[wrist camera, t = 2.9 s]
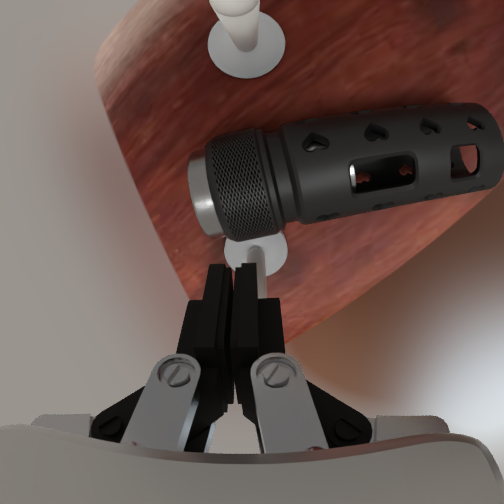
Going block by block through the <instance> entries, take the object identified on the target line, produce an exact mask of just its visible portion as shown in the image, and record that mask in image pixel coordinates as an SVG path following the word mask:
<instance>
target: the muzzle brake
mask: <svg viewBox="0 0 504 504" xmlns="http://www.w3.org/2000/svg"><path fill="white" fill-rule="evenodd" d="M467 122H468V123H470V124H472V125H474V126H476V127H478V128H475V129H471V128H470V127H469V126H468V124H467ZM468 145H475V146H476V148H477V158H478V159H477V168H476V170H475V171H474V172H472V173H469V171H468V170H467V168H466V167H465V165H464V162H463V160H462V157H461V153H460V149H459V146H468ZM402 165H403V166H405V167H406V168H408V169H410V170H411V171H412V174H409V173H407V174H406V175H405V176H403V175H401V174H400V173H399V169H400V168H401V166H402ZM503 170H504V142H503V138H502V135H501V132H500V129H499V127H498V125H497V123H496V121H495V119H494V118H493V116H492V115H491V114H490V113H489V111H488V110H487V109H485V108H484V107H483V106H481V105H479V104H477V103H444V104H426V105H412V106H400V107H390V108H380V109H372V110H364V111H358V112H349V113H342V114H336V115H329V116H323V117H318V118H312V119H306V120H301V121H296V122H291V123H286V124H282V125H281V126H280V127H279V129H278V131H276V132H271V133H265V132H264V131H263V130H262V129H257V130H256V129H255V128H248V129H244V130H240V131H236V132H232V133H228V134H224V135H220V136H217V137H214V138H212V139H211V140H210V141H209V142H208V143H207V145H206V148H205V149H201V150H198V151H194V152H192V153H191V154H190V156H189V159H188V168H187V172H188V184H189V190H190V195H191V199H192V203H193V207H194V210H195V213H196V216H197V218H198V221H199V223H200V225H201V227H202V229H203V230H204V232H205V233H206V235H207V236H208V237H209V238H211V239H217V238H221V237H226V236H227V238H228V239H230V240H232V241H235V242H242V241H247V240H252V239H256V238H261V237H266V236H271V235H275V234H278V233H279V232H280V230H284V229H285V226H286V223H289V222H293V221H299V222H300V223H302V224H305V225H307V224H312V223H317V222H322V221H326V220H331V219H336V218H341V217H346V216H351V215H356V214H361V213H366V212H371V211H376V210H381V209H386V208H392V207H397V206H402V205H407V204H412V203H417V202H423V201H428V200H433V199H438V198H444V197H449V196H454V195H460V194H465V193H471V192H476V191H482V190H487V189H492V188H493V187H495V186H496V185H497V184H498V182H499V181H500V179H501V177H502V174H503ZM359 172H361V173H362V174H364V175H366V176H367V177H369V179H370V181H369V182H366V181H363V182H362V183H356V180H355V177H356V176H357V174H358V173H359Z"/></svg>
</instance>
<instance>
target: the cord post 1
mask: <svg viewBox="0 0 504 504" xmlns="http://www.w3.org/2000/svg"><path fill="white" fill-rule="evenodd" d="M209 2H210V4H211V6H212V8H213V9H214V11H215V13H216V14H217V16H218V18H219V19H220V20H219V21H218V22H217V23H216V24H215V25H214V27H213V28H212V30H211V32H210V35H209V38H208V51H209V54H210V57H211V59H212V61H213V62H214V63H215V65H216V66H217V67H218V68H219V69H220V70H222V71H223V72H225V73H227V74H229V75H231V76H234V77H238V78H255V77H259V76H262V75H264V74H266V73H268V72H269V71H271V70H272V69H273V68H274V67H275V66H276V65H277V64H278V63H279V61H280V60H281V58H282V56H283V54H284V50H285V37H284V34H283V31H282V29H281V28H280V26H279V25H278V23H277V22H276V21H275V20H274V19H272V18H271V17H270V16H268V15H266V14H264V13H262V12H259V4H260V0H209Z"/></svg>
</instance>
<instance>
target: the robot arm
mask: <svg viewBox="0 0 504 504" xmlns="http://www.w3.org/2000/svg"><path fill="white" fill-rule="evenodd" d="M234 382H235V387H236V394H237V400H238V404H242V409H243V415H244V416H245V417H246V418H248V419H249V420H250V421H251V422H253V423H254V424H255V431H256V435H257V441H258V446H259V451H260V454H215V453H214V454H213V453H208V452H209V448H210V445H211V441H212V437H213V433H214V429H215V421H216V420H217V419H219V418H220V417H221V416H223V414H224V412H227V408H228V404H233V402H234ZM0 504H504V480H503V477H502V475H501V472H500V470H499V467H498V465H497V463H496V461H495V460H494V458H493V456H492V454H491V453H490V451H489V450H488V448H487V447H486V446H485V445H484V444H483V443H482V442H481V441H479V440H477V439H475V438H473V437H469V436H466V435H461V434H454V433H450V431H449V428H448V425H447V424H446V423H445V422H444V420H443V419H441V418H439V417H436V416H376V418H366V417H365V416H364V415H363V414H361V413H360V412H358V411H356V410H355V409H353V408H351V407H349V406H348V405H346V404H344V403H343V402H341V401H339V400H337V399H336V398H335V397H333V396H331V395H330V394H328V393H326V392H325V391H323V390H321V389H320V388H318V387H317V386H315V385H313V384H312V383H310V382H308V381H307V380H306V379H305V376H304V373H303V370H302V367H301V365H300V364H299V362H298V361H297V360H296V359H295V358H293V357H292V356H290V355H287V354H285V346H284V336H283V326H282V317H281V308H280V300H279V298H259V299H258V286H257V263H241V267H236V268H235V280H234V291H233V280H232V270H231V267H229V268H226V265H225V264H210V265H209V269H208V274H207V279H206V284H205V289H204V295H203V300H189V302H188V305H187V309H186V313H185V317H184V321H183V325H182V330H181V334H180V338H179V343H178V347H177V351H176V354H172V355H168V356H166V357H164V358H162V359H161V360H160V361H159V362H157V364H156V365H155V367H154V368H153V370H152V372H151V374H150V377H149V379H148V381H147V383H146V385H145V386H144V387H142V388H141V389H139V390H137V391H135V392H134V393H132V394H131V395H129V396H127V397H126V398H124V399H122V400H121V401H119V402H117V403H116V404H114V405H112V406H111V407H109V408H107V409H106V410H104V411H102V412H101V413H100V414H98V415H97V416H96V417H92V416H91V415H90V414H74V415H41V416H39V417H37V418H36V419H35V420H34V421H33V422H32V424H31V425H24V424H21V425H8V426H2V427H0Z"/></svg>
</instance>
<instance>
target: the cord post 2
mask: <svg viewBox="0 0 504 504" xmlns="http://www.w3.org/2000/svg"><path fill="white" fill-rule="evenodd" d="M287 252H288V250H287V243H286V238H285V235H284V233H283V231H282V230H280V232H279V233H278V234H275V235H271V236H266V237H261V238H256V239H252V240H247V241H242V242H235V241H232V240H230V239H228V238H227V237H226V242H225V249H224V253H225V258H226V260H227V262H228V264H229V265H230V267H231V268H232V269H233V270H234V271H235V268H236V267H241V263H257V286H258V299H259V298H267V284H266V276H269V275H271V274H273V273H275V272H276V271H278V270H279V269H280V268H281V267H282V265H283V264H284V262H285V260H286V258H287Z"/></svg>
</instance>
